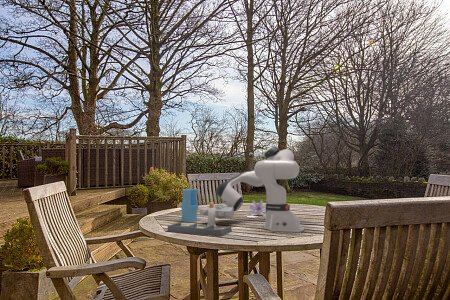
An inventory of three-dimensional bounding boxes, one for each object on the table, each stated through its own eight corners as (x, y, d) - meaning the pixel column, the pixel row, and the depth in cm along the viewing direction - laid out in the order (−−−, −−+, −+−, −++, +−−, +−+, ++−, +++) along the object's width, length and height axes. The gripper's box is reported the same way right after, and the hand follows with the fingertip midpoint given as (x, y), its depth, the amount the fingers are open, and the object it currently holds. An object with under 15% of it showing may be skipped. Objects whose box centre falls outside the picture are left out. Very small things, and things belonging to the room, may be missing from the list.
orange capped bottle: (217, 226, 209) (217, 202, 209) (213, 228, 204) (213, 203, 204) (209, 225, 211) (209, 201, 211) (205, 227, 206) (205, 202, 206)
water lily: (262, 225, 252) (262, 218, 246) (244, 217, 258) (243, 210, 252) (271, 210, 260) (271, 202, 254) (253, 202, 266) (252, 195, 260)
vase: (189, 222, 223) (190, 190, 224) (180, 221, 228) (181, 189, 229) (198, 220, 229) (198, 189, 230) (189, 219, 234) (189, 188, 235)
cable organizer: (232, 231, 194) (232, 225, 194) (221, 236, 181) (221, 230, 181) (180, 227, 206) (180, 221, 206) (167, 231, 193) (167, 225, 193)
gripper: (205, 205, 224) (195, 207, 211) (235, 206, 216) (227, 209, 203) (205, 215, 223) (195, 218, 211) (235, 217, 216) (227, 220, 203)
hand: (211, 214), depth 207 cm, fingers open, 8 cm apart
